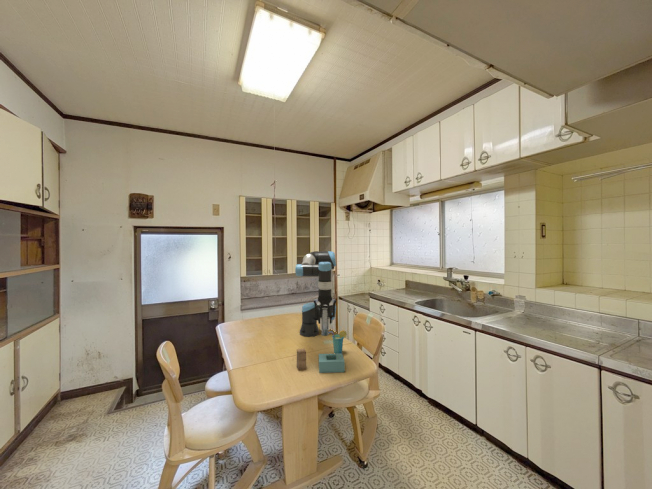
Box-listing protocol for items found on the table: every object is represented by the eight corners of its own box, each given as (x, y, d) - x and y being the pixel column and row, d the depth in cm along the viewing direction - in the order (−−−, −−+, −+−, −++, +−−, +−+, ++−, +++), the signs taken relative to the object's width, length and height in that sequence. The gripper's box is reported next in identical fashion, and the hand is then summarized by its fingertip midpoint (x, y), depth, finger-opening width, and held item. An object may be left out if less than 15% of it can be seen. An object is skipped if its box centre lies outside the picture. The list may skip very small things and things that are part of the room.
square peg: (296, 366, 145) (296, 349, 145) (304, 365, 146) (304, 348, 146) (298, 370, 141) (298, 352, 141) (306, 369, 142) (306, 351, 142)
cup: (330, 357, 156) (330, 333, 156) (324, 353, 163) (324, 330, 163) (349, 352, 163) (349, 329, 163) (342, 348, 170) (342, 326, 169)
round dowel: (321, 333, 147) (321, 307, 147) (328, 333, 147) (328, 307, 147) (321, 335, 143) (321, 309, 143) (328, 335, 143) (328, 309, 143)
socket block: (318, 364, 148) (318, 353, 148) (342, 363, 149) (342, 353, 149) (319, 372, 138) (319, 362, 138) (344, 372, 139) (344, 361, 139)
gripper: (310, 289, 141) (310, 331, 141) (340, 289, 142) (340, 331, 142) (310, 287, 149) (310, 327, 149) (339, 287, 149) (339, 326, 149)
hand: (324, 329), depth 145 cm, fingers closed on round dowel, 4 cm apart
